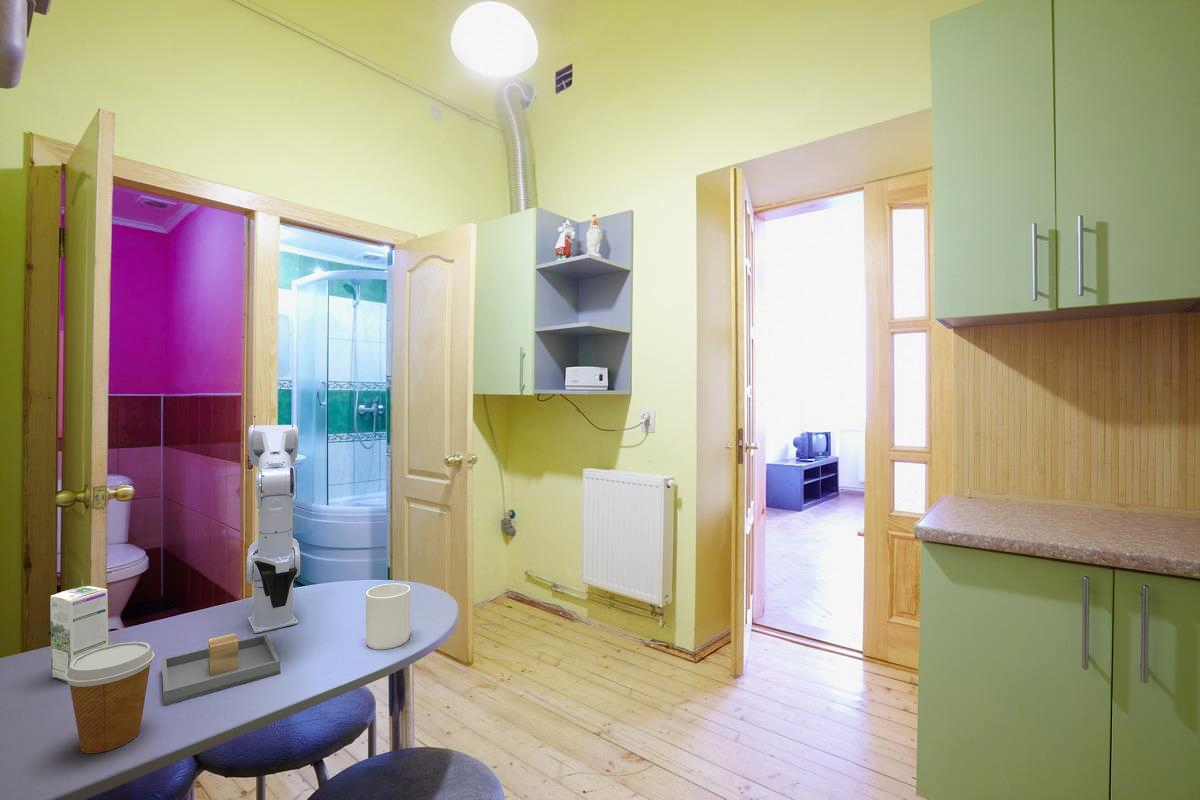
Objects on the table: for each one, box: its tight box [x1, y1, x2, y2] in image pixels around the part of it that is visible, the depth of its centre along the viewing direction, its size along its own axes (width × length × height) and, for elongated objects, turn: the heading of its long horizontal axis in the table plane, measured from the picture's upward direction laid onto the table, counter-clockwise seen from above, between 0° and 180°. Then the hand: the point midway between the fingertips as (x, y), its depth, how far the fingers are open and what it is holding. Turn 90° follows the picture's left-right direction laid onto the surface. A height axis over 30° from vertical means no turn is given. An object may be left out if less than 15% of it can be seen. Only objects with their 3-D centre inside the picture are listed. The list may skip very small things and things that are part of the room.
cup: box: [365, 582, 411, 650], centre depth 111 cm, size 8×12×10 cm
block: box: [207, 632, 239, 676], centre depth 96 cm, size 4×4×5 cm
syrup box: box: [49, 585, 109, 683], centre depth 96 cm, size 6×6×14 cm
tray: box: [161, 633, 281, 706], centre depth 96 cm, size 14×16×2 cm
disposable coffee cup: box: [64, 641, 156, 754], centre depth 77 cm, size 10×10×12 cm
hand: (275, 600), depth 105 cm, fingers open, 7 cm apart
